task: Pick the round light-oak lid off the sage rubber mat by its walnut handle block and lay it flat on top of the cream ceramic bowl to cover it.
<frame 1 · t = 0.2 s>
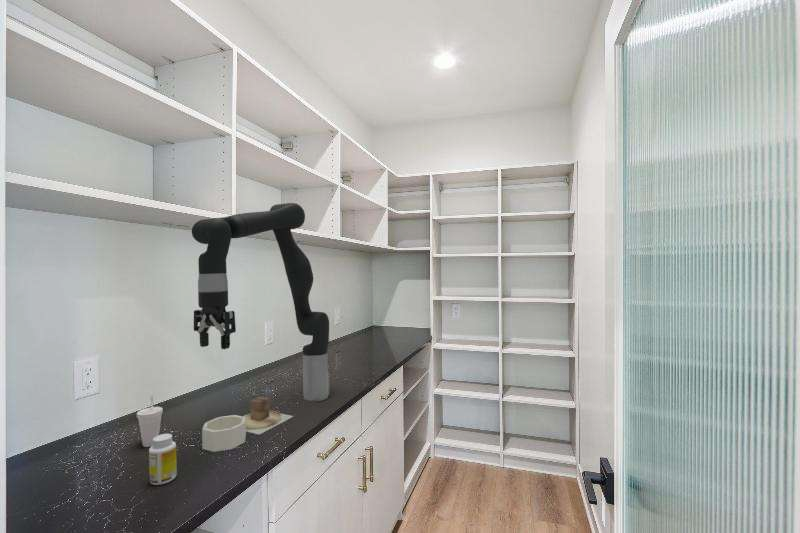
hand: (214, 347, 106), 28 cm above the countertop, tool pointing down, fingers open, 8 cm apart
lid: (260, 420, 123), point 1 cm above the countertop, touching mat
mat: (260, 422, 123), on the countertop
bowl: (225, 443, 109), on the countertop
smoothie: (150, 444, 109), on the countertop
supplement bottle: (163, 480, 91), on the countertop
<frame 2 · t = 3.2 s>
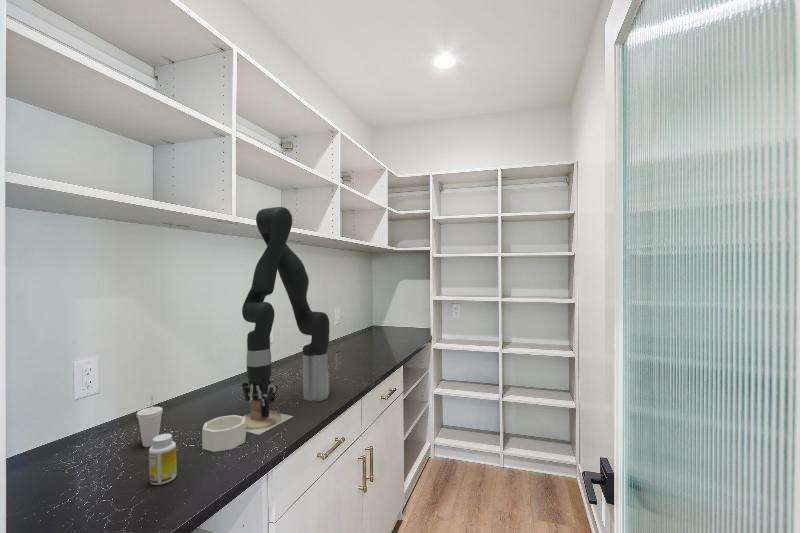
hand: (259, 414, 123), 3 cm above the countertop, tool pointing down, fingers closed on lid, 4 cm apart
lid: (260, 420, 123), point 1 cm above the countertop, touching gripper, mat
everything else where it was.
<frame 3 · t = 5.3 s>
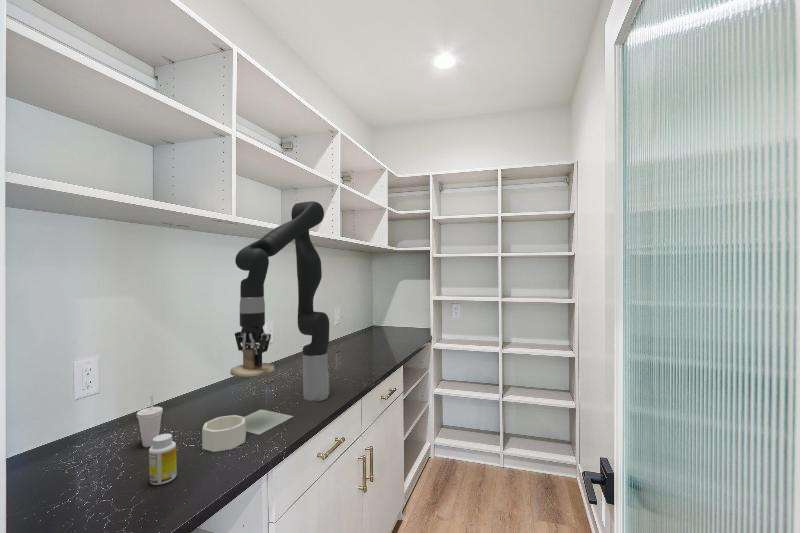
hand: (252, 364, 120), 20 cm above the countertop, tool pointing down, fingers closed on lid, 4 cm apart
lid: (252, 370, 120), point 18 cm above the countertop, touching gripper
everything else where it was.
when the fingers open (9 cm above the countertop, at t = 7.7 s): lid drops 1 cm, resting on bowl.
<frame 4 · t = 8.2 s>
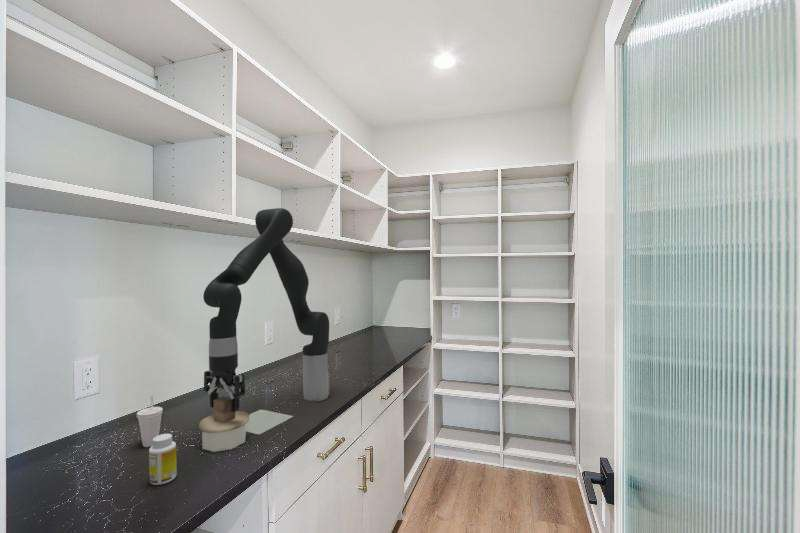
hand: (224, 408, 109), 10 cm above the countertop, tool pointing down, fingers open, 8 cm apart
lid: (224, 422, 109), point 6 cm above the countertop, touching bowl
everything else where it was.
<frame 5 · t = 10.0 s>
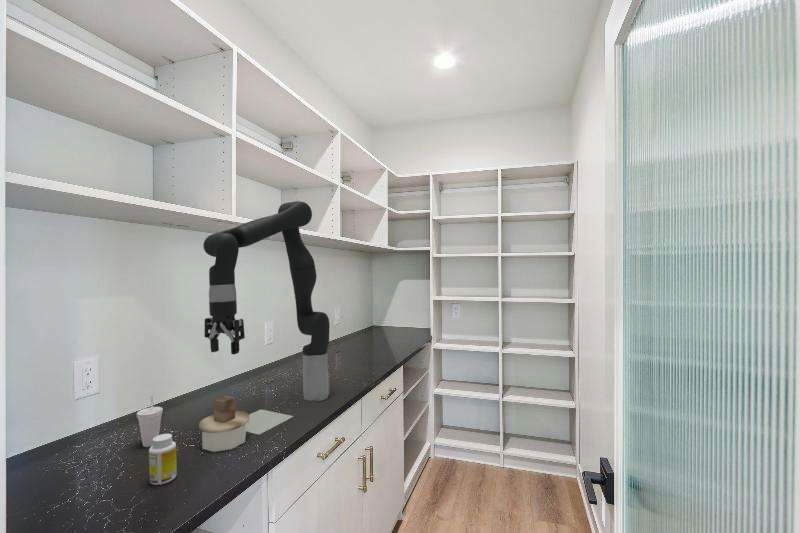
hand: (224, 352, 115), 25 cm above the countertop, tool pointing down, fingers open, 8 cm apart
nothing on the countertop moved.
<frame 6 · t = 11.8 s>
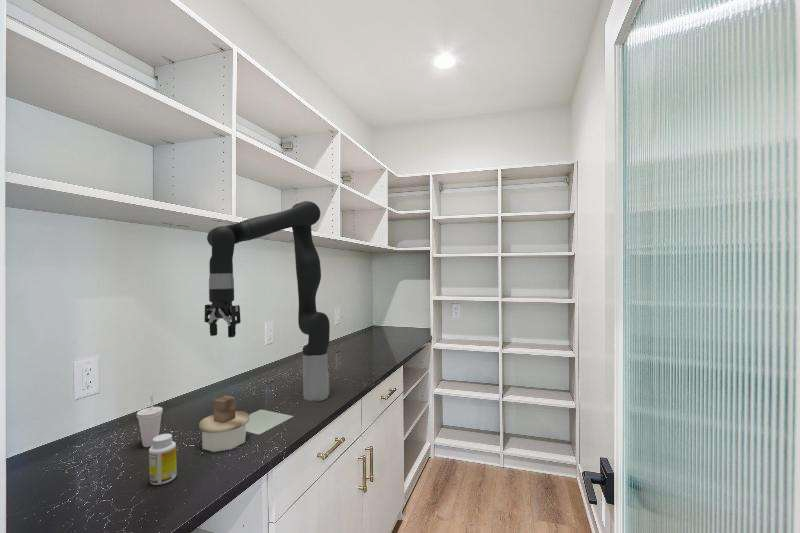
hand: (222, 336, 125), 28 cm above the countertop, tool pointing down, fingers open, 8 cm apart
nothing on the countertop moved.
at the end: lid 0.0 cm off-centre on the bowl, point 6.0 cm above the bowl's base; lid tilted 0°; the gripper is holding nothing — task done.
